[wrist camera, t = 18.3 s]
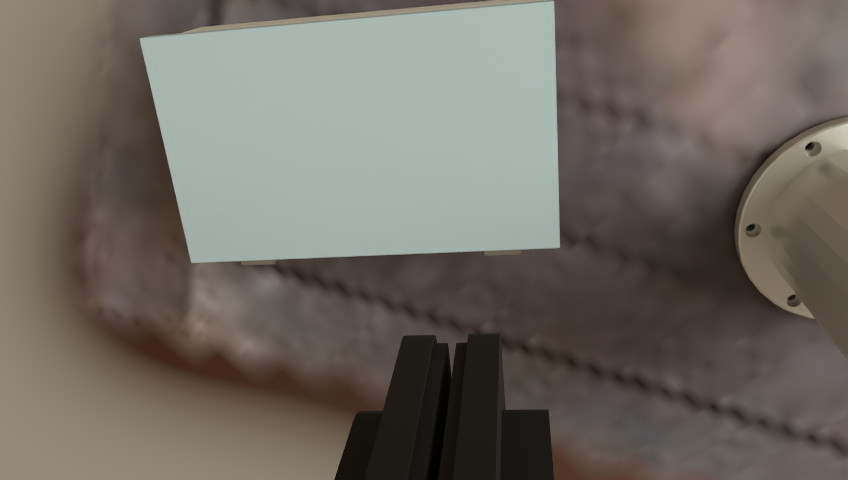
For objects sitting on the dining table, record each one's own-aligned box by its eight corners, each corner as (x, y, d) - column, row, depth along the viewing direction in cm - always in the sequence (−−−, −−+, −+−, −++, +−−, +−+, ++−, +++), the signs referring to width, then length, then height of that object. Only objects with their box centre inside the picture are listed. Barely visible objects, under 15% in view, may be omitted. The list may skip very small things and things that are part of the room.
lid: (552, -1, 33) (554, 1, 32) (558, 239, 37) (559, 247, 36) (151, 35, 36) (139, 38, 34) (200, 254, 40) (191, 262, 39)
